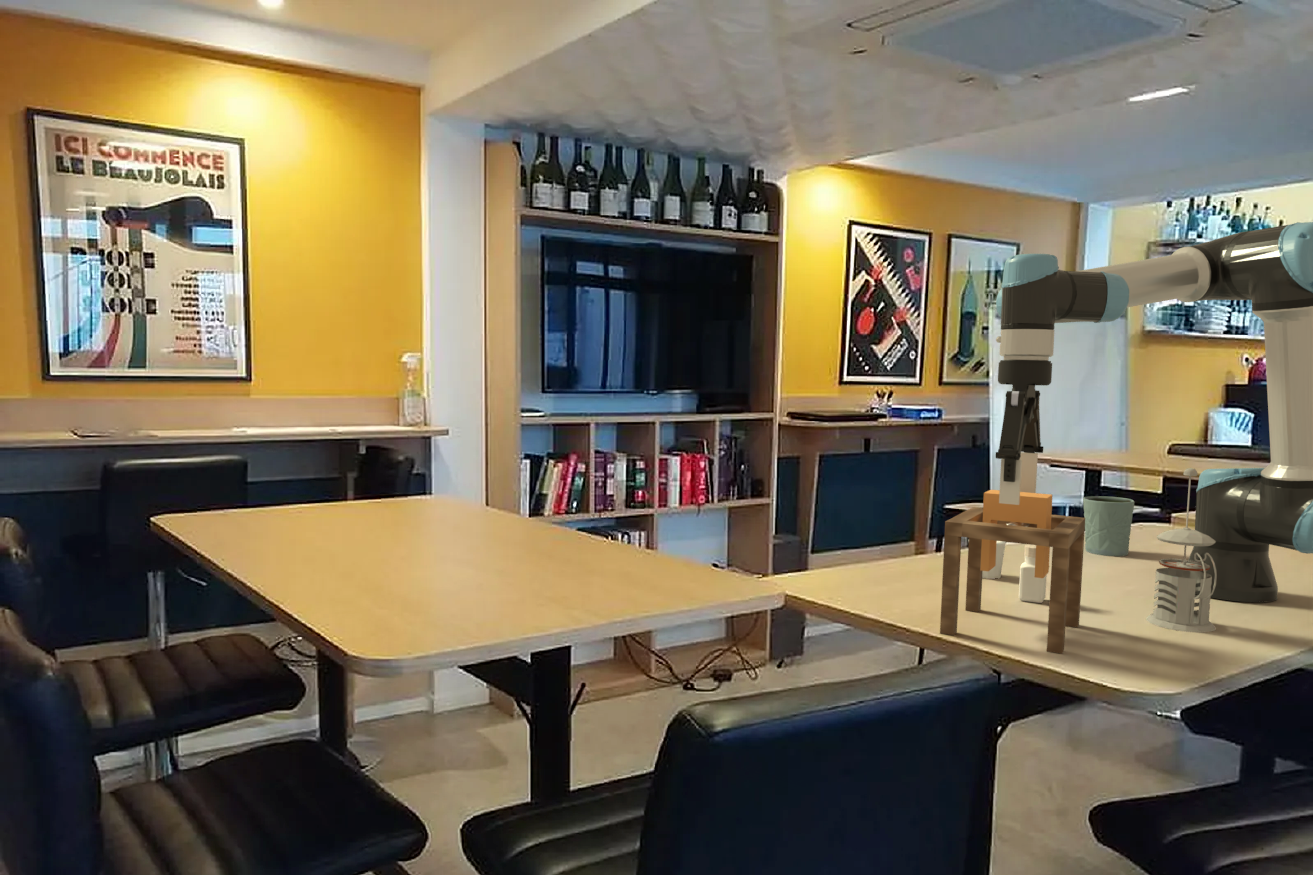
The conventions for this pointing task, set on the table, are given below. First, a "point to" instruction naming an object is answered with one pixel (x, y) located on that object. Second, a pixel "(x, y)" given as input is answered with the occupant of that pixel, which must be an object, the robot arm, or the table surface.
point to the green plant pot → (1107, 525)
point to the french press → (1184, 582)
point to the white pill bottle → (1031, 578)
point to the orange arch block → (1028, 511)
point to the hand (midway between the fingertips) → (1018, 498)
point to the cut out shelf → (1061, 537)
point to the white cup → (996, 570)
